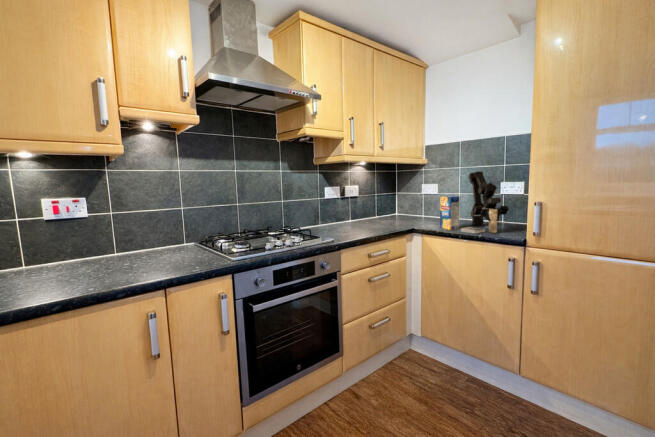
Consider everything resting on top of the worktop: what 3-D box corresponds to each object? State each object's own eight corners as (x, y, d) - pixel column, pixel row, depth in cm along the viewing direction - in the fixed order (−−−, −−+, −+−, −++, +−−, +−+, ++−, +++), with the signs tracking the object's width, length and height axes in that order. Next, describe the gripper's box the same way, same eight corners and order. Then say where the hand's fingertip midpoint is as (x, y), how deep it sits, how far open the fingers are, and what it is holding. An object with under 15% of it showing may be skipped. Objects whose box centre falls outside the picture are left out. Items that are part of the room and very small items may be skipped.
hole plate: (460, 231, 195) (460, 228, 195) (470, 229, 200) (470, 226, 200) (474, 233, 187) (474, 230, 186) (485, 231, 191) (485, 228, 191)
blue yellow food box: (450, 230, 201) (450, 196, 199) (439, 227, 212) (440, 196, 209) (459, 229, 203) (459, 196, 201) (448, 227, 214) (448, 195, 211)
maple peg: (487, 232, 188) (487, 209, 186) (491, 231, 190) (492, 208, 188) (493, 232, 184) (494, 209, 182) (498, 232, 186) (499, 209, 185)
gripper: (475, 193, 190) (480, 212, 180) (508, 192, 186) (514, 212, 177) (471, 204, 198) (476, 224, 189) (502, 204, 195) (509, 223, 185)
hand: (493, 220), depth 185 cm, fingers closed on maple peg, 4 cm apart
